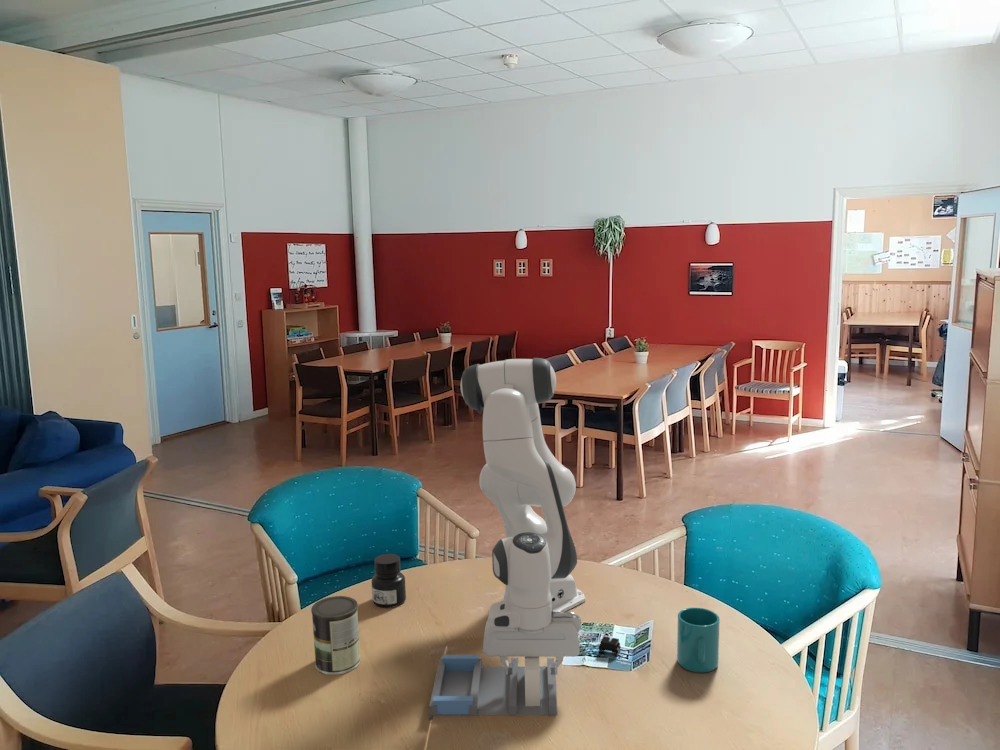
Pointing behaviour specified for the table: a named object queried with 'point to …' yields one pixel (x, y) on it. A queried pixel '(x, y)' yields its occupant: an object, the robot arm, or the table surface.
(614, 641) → the black notched block
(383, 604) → the ink bottle
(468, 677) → the board
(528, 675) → the plug block
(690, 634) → the cup
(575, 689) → the table surface
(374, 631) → the table surface
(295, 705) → the table surface
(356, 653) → the coffee can
